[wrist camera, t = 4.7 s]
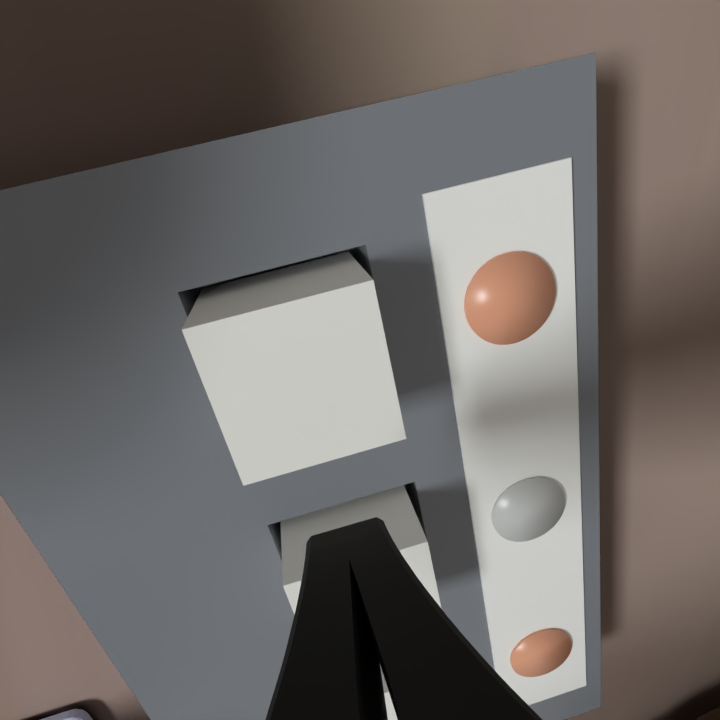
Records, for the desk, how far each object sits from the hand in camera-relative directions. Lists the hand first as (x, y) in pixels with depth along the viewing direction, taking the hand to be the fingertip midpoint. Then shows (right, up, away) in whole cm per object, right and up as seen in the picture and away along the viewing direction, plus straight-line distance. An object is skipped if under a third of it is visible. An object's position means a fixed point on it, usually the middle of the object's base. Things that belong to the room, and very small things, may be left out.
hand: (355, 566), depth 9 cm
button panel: (-1, -1, +9) cm, 9 cm away
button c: (-2, +4, +4) cm, 6 cm away
